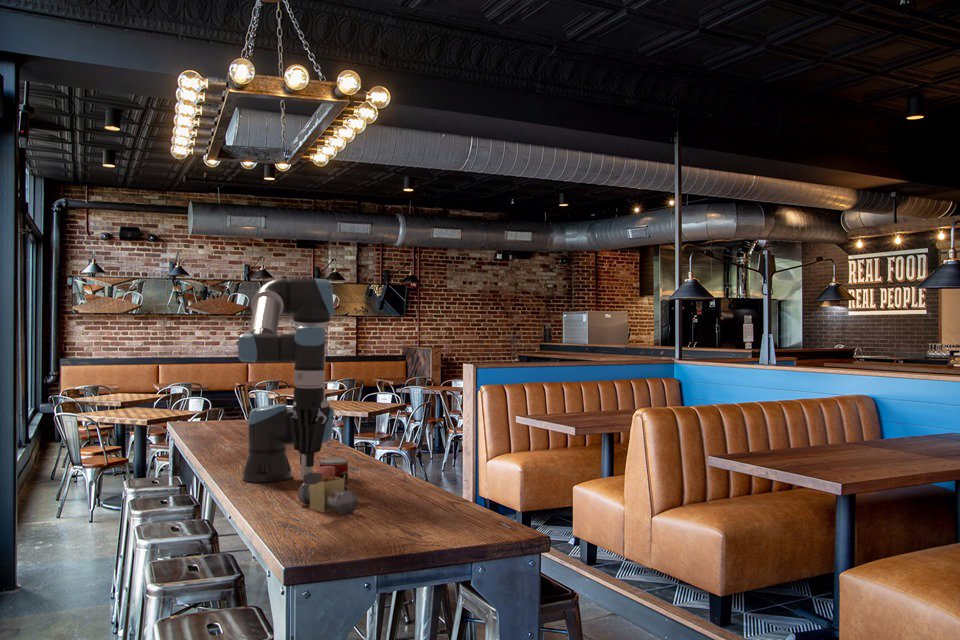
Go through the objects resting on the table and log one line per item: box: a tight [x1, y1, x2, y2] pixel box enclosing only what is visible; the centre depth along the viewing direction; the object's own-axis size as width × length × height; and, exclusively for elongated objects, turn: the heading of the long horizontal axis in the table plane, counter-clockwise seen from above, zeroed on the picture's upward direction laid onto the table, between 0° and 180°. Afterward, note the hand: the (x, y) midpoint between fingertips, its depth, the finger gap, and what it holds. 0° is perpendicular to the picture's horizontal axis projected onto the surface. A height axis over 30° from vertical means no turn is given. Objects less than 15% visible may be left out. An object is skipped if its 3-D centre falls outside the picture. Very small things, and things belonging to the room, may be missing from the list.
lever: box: [303, 466, 335, 484], centre depth 192 cm, size 14×4×2 cm, turn 171°
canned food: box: [319, 457, 349, 491], centre depth 208 cm, size 8×8×11 cm
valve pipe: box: [297, 476, 359, 516], centre depth 197 cm, size 18×6×9 cm, turn 47°
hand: (306, 479), depth 189 cm, fingers closed
